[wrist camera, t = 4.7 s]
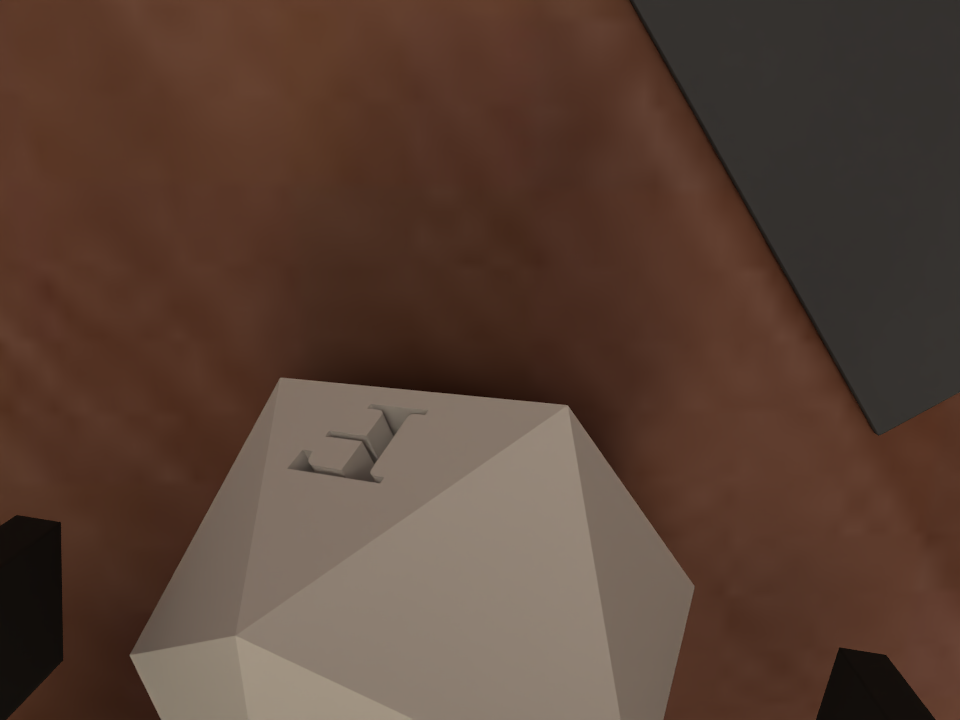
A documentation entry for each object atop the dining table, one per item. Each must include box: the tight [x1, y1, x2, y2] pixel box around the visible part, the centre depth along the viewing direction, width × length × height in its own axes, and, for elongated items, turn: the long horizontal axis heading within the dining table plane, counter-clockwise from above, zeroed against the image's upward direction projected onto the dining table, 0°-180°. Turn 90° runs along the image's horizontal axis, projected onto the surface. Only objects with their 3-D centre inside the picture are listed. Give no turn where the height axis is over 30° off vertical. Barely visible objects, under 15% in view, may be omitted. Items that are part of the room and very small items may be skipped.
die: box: [130, 378, 695, 720], centre depth 12 cm, size 8×9×10 cm
